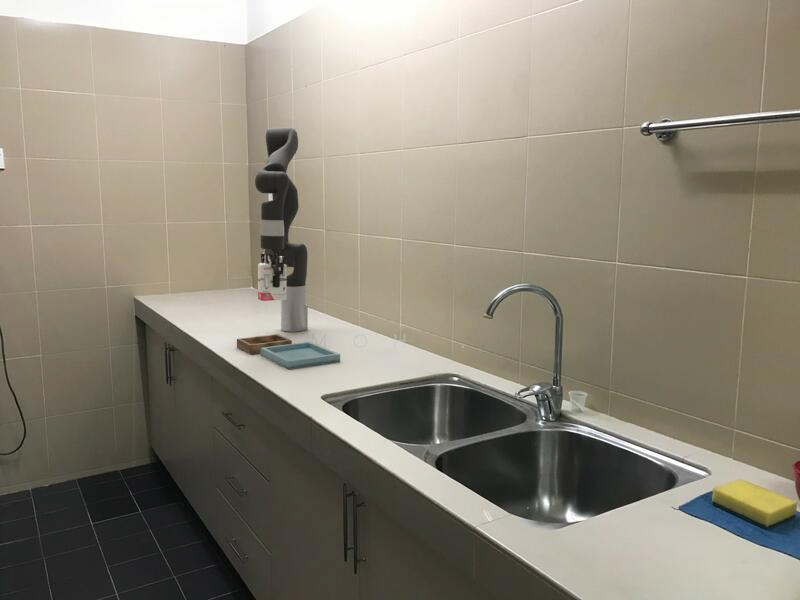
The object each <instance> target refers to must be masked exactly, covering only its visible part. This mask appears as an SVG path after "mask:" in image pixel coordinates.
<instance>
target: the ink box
mask: <svg viewBox="0 0 800 600" xmlns="http://www.w3.org/2000/svg"><path fill="white" fill-rule="evenodd" d="M273 266H275V265H273ZM287 268H288V267H287V265H285V264H284V271H283V274H281V276H280V287H276V288H274V287H273V274H272V270H271V269H270V265H269V264H268V263H261V262H259V263H258V264H257V300H258V301H261V302H263V301H264V302H266V301H267V302H268V301H270V302H271V301H281V300H286V293H287V276H288V274H287ZM280 271H281V268H280Z"/></svg>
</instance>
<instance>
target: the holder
mask: <svg viewBox="0 0 800 600" xmlns="http://www.w3.org/2000/svg"><path fill="white" fill-rule="evenodd" d="M292 341H293V340H292V339H291V338H287V337H285V336H284V335H280V334H276V333H275V334H268V335H258V336H251V337H249V336H248V337H240V338H236V348H237V349H239V350H241V351H243V352H245V353H246V354H248V355H257V354H260V348H264V347H272V346H279V345H287V344H293V342H292Z"/></svg>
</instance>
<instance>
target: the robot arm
mask: <svg viewBox="0 0 800 600" xmlns="http://www.w3.org/2000/svg"><path fill="white" fill-rule="evenodd" d="M265 145H266V151H267V160H266V163H265V165H264V166H263V167H262V168H261V169H260V170H259V171H258V172H257V174H256V175H255V180H254V184H255V185H254V186H255V188H256V190H257V191H258V192H260V193H261V194H268V195H269V194H270V195H271V194H272V195H271V196H272V197H271V198H272V200H266V201H263V202H262V204H261V206H260V212H261V213H260V214H261V215H260V217H261V220H260V221H261V222H260V248H261V249H262V250H264V252H262V253H260V263H268V264H269V265H270V269H271V270H272V274H273V287H274V288H276V287H280V276H281V274H283V271H284V264H285V265H287V268H293V271H292V272H291V273H290V274H289V275H288V274H287V293H286V300H280V317H281V318H280V320H281V321H280V329H281V331H284V332H289V333H292V332H293V333H294V332H302V331H305V330H308V329H309V328H308V326H309V325H308V321H309V316H308V315H309V314H308V312H309V311H308V309H309V308H308V304H307V303H306V299H307V298H306V296H307V295H306V294H307V293H306V281H307V274H308V269H307V268H308V258H309V257H308V249H307V248H308V247H307V246H306V245H305V244H304V243H300V242H289V233H290V232H289V231H290V227H291V225H292V223H293V221H294V219H295V218H296V216H297V213H298V211H299V208H300V207H299V195H298V194H299V193H298V189H297V187H296V185H295V184H294V182H293V180H292V179H290V178H291V177H289V175H288V174H287V171H288V167H289V164H290V162H291V161H292V159H293V158H294V157H295V155H296V153H297V152H298V149H299V148H298V147H299V137H298V132H297V130H296V129H295V128H294V127H289V126H288V127H287V126H286V127H269V128H268V129H267V130H266V132H265ZM273 265H275V266H273ZM280 268H281V271H280Z"/></svg>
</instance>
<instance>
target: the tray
mask: <svg viewBox="0 0 800 600" xmlns="http://www.w3.org/2000/svg"><path fill="white" fill-rule="evenodd" d="M259 355H260V356H261V357H264V358H265V359H267V360H268V361H269V360H270V361H271V362H272V363H275V364H276V365H278V366H281V367H283V368H284V369H287V370H293V369H300V368H306V367H307V368H308V367H313V366H320V365H327V364H332V363H339V362H341V353H338V352H336V351H333V350H331V349H329V348H326V347H325V346H321V345H319V344H317V343H314V342H312V341H303V342H298V343H297V342H296V343H292V344H287V345H279V346H272V347H264V348H260V353H259Z"/></svg>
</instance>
